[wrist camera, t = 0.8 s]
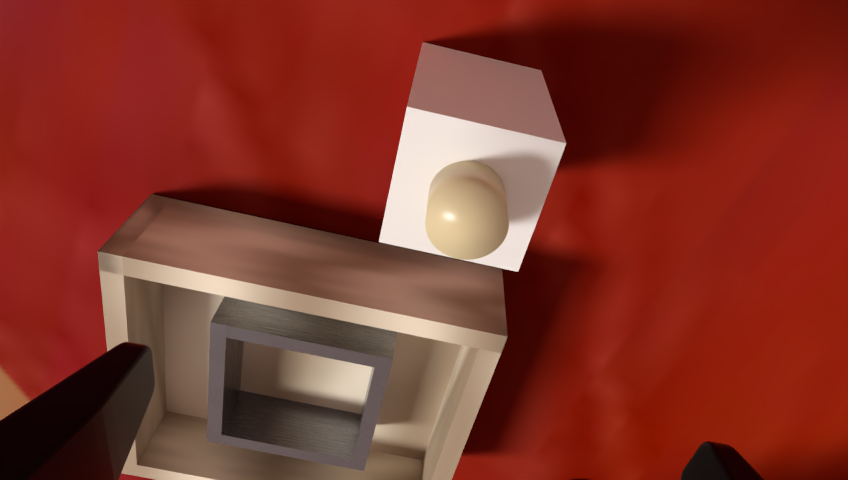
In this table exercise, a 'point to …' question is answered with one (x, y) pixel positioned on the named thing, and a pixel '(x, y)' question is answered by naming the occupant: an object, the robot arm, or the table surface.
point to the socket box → (297, 348)
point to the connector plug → (472, 159)
